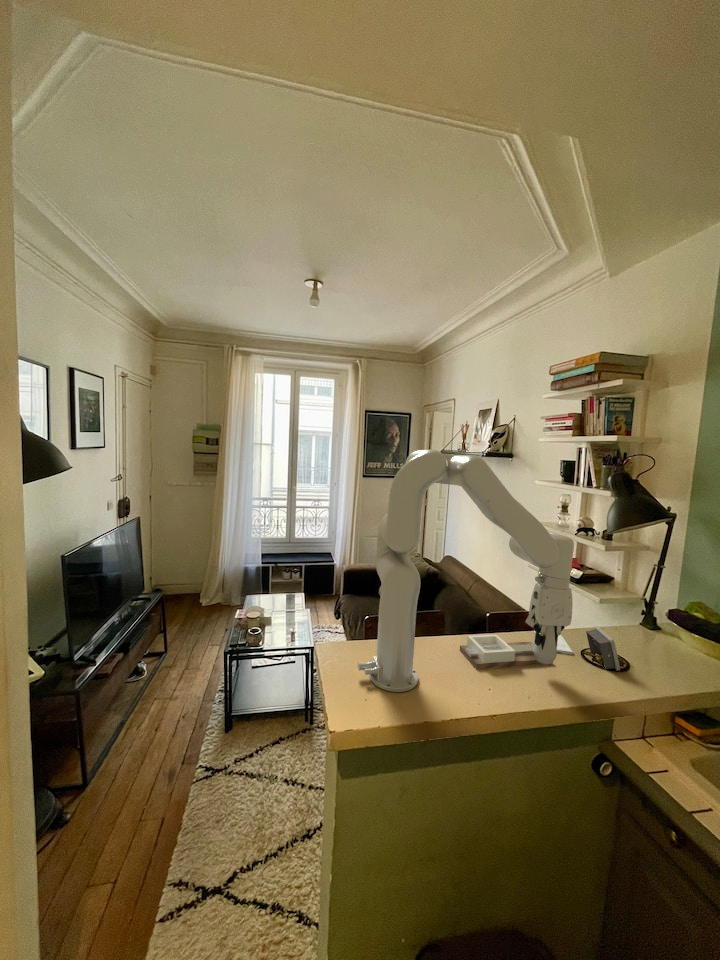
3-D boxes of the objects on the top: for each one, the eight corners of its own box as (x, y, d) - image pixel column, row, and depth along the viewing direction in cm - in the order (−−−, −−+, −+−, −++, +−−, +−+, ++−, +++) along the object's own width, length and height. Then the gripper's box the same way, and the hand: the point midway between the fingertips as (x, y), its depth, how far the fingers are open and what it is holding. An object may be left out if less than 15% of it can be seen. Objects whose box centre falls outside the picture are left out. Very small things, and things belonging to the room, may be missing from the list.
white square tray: (483, 663, 103) (484, 652, 103) (466, 645, 112) (467, 635, 112) (514, 661, 105) (515, 650, 105) (495, 643, 114) (496, 634, 114)
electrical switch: (621, 672, 105) (620, 640, 104) (601, 672, 105) (601, 640, 105) (602, 655, 114) (602, 625, 114) (584, 654, 115) (584, 625, 114)
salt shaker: (555, 658, 102) (560, 612, 101) (556, 668, 97) (562, 620, 96) (531, 652, 105) (537, 607, 104) (531, 661, 99) (537, 614, 99)
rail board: (476, 669, 102) (476, 664, 102) (459, 650, 112) (459, 645, 112) (552, 663, 107) (552, 658, 107) (529, 646, 117) (530, 641, 117)
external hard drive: (560, 637, 125) (573, 656, 113) (534, 634, 127) (544, 652, 115) (560, 633, 125) (573, 651, 113) (534, 629, 127) (544, 647, 115)
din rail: (470, 657, 106) (471, 654, 105) (464, 651, 109) (465, 647, 109) (544, 652, 110) (545, 649, 110) (537, 646, 114) (537, 643, 114)
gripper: (535, 585, 94) (527, 655, 95) (590, 586, 97) (581, 654, 99) (517, 576, 101) (509, 641, 103) (569, 577, 105) (561, 640, 106)
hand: (545, 646), depth 101 cm, fingers closed on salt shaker, 3 cm apart
